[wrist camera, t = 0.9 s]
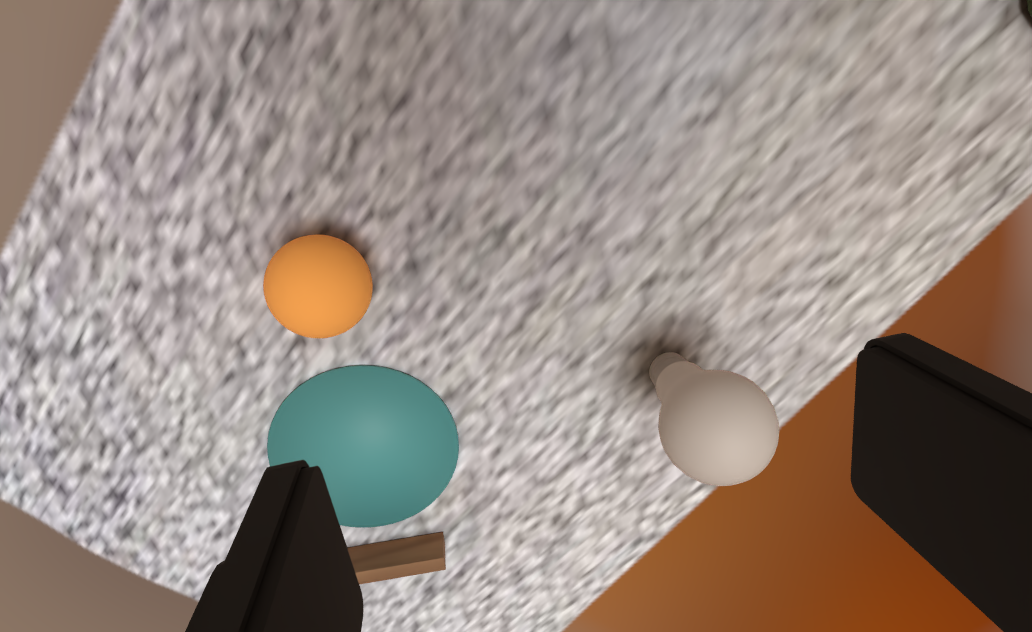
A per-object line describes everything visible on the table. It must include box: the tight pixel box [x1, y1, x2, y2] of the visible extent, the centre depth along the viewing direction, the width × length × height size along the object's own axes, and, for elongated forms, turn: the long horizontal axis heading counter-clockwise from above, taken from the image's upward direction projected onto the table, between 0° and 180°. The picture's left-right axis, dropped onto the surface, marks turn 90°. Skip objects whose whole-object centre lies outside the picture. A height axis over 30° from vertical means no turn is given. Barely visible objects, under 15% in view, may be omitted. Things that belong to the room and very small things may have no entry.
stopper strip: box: [347, 532, 446, 584], centre depth 40 cm, size 1×8×2 cm, turn 95°
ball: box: [263, 235, 373, 338], centre depth 32 cm, size 6×6×6 cm
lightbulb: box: [649, 352, 779, 486], centre depth 34 cm, size 6×6×11 cm
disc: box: [267, 365, 459, 527], centre depth 38 cm, size 12×12×1 cm
